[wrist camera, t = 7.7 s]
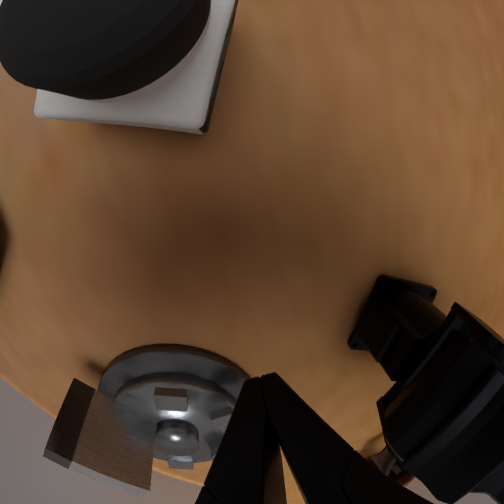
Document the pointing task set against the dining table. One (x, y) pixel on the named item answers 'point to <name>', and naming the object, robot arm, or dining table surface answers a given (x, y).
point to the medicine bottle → (119, 59)
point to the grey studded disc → (139, 428)
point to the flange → (172, 367)
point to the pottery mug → (391, 467)
